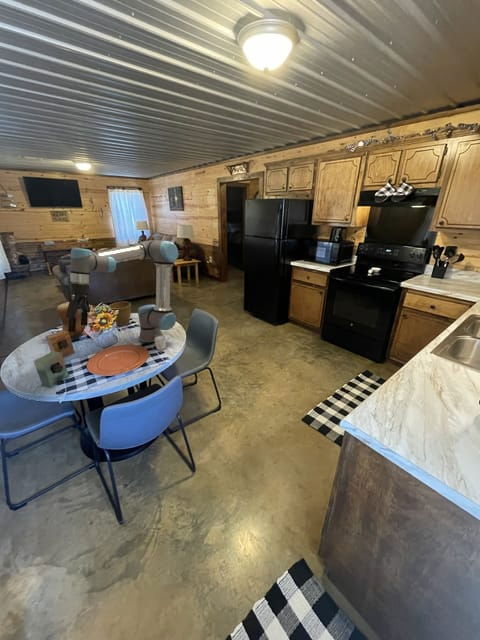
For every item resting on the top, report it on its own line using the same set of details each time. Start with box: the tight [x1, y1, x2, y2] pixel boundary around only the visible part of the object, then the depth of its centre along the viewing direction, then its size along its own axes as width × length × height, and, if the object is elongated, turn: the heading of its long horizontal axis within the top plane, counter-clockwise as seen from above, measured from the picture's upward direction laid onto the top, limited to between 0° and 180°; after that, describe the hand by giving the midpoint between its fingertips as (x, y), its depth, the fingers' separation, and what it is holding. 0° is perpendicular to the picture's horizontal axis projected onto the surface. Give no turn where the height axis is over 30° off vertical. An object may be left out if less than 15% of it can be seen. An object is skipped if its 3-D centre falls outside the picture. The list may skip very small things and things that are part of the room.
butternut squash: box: [56, 301, 86, 339], centre depth 175 cm, size 14×13×25 cm
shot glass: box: [154, 335, 167, 351], centre depth 165 cm, size 7×7×7 cm
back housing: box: [45, 329, 76, 358], centre depth 156 cm, size 6×10×14 cm, turn 148°
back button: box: [58, 341, 68, 349], centre depth 153 cm, size 3×4×4 cm
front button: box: [51, 364, 63, 373], centre depth 131 cm, size 3×4×4 cm
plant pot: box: [108, 301, 132, 327], centre depth 197 cm, size 15×15×16 cm
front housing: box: [33, 351, 69, 388], centre depth 132 cm, size 6×10×14 cm, turn 163°
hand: (78, 328), depth 122 cm, fingers open, 13 cm apart
